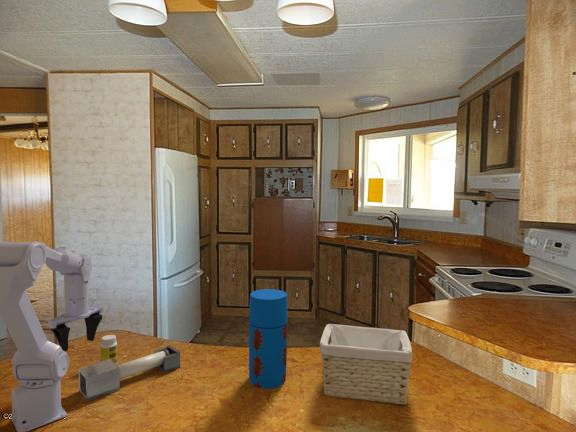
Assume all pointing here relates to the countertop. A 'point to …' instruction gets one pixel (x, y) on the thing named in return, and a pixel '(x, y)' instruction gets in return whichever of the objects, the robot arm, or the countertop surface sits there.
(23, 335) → the robot arm
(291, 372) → the countertop surface
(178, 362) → the socket
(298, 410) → the countertop surface
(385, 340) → the storage basket
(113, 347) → the supplement bottle
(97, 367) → the sleeve
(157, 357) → the tube
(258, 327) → the thermos
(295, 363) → the countertop surface
